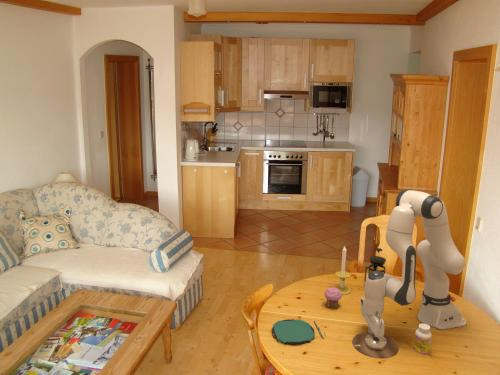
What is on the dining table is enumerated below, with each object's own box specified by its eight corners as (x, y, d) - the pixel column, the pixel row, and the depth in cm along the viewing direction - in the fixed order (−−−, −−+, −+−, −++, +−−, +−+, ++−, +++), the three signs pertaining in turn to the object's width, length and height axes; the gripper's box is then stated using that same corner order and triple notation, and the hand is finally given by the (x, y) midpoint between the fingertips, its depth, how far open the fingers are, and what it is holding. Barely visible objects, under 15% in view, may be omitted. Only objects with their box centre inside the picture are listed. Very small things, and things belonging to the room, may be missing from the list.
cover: (382, 339, 206) (382, 333, 205) (389, 351, 197) (389, 344, 196) (362, 339, 205) (362, 333, 205) (368, 351, 197) (369, 345, 196)
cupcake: (323, 309, 235) (324, 291, 232) (324, 301, 243) (324, 284, 240) (341, 310, 233) (342, 293, 231) (341, 302, 241) (342, 285, 239)
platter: (388, 333, 212) (388, 331, 212) (406, 359, 193) (406, 357, 193) (346, 334, 211) (346, 333, 210) (360, 361, 191) (360, 359, 191)
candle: (330, 286, 259) (332, 242, 253) (346, 285, 261) (349, 241, 254) (336, 295, 250) (339, 249, 243) (353, 293, 251) (357, 248, 245)
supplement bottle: (410, 352, 199) (413, 326, 196) (417, 346, 204) (420, 320, 200) (425, 359, 194) (428, 332, 191) (432, 352, 199) (435, 326, 196)
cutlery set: (268, 323, 221) (268, 319, 220) (327, 320, 225) (328, 316, 225) (276, 348, 202) (276, 343, 201) (341, 343, 206) (341, 339, 206)
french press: (383, 283, 264) (386, 246, 259) (387, 290, 255) (390, 252, 249) (362, 282, 265) (365, 245, 259) (365, 290, 256) (368, 251, 250)
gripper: (389, 318, 194) (386, 347, 197) (372, 295, 213) (370, 322, 217) (374, 319, 193) (372, 348, 196) (359, 296, 213) (357, 323, 216)
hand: (371, 334), depth 207 cm, fingers closed
